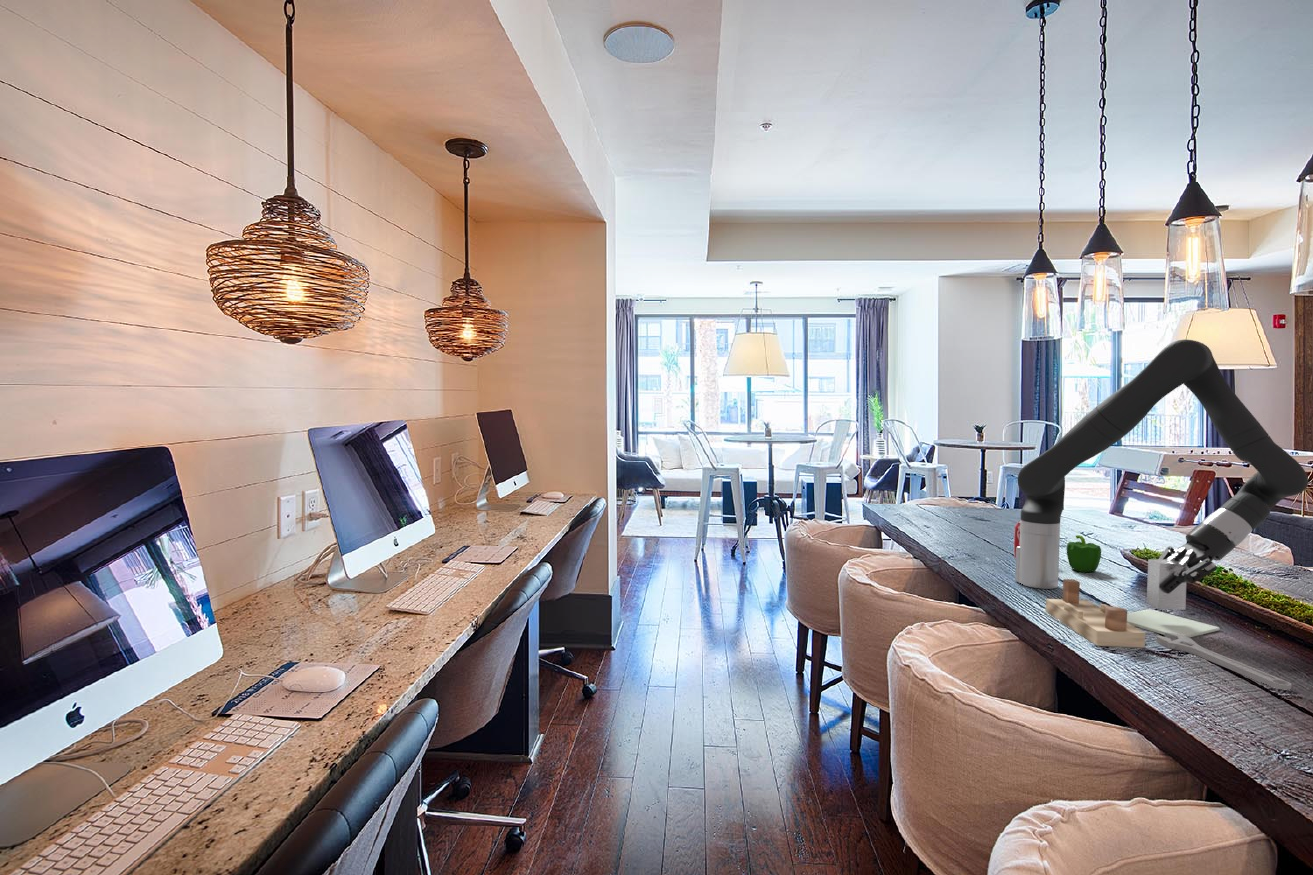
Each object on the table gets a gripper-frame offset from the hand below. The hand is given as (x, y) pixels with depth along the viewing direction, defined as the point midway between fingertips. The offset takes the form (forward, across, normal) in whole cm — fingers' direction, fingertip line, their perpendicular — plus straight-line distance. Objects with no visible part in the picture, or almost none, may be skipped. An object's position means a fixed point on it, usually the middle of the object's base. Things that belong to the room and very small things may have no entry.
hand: (1157, 587), depth 147 cm
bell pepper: (0, -48, +12) cm, 50 cm away
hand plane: (+17, +4, -5) cm, 18 cm away
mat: (+5, 0, +7) cm, 8 cm away
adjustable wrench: (+8, +21, +5) cm, 23 cm away
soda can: (+7, -59, +4) cm, 60 cm away
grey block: (+2, 0, +4) cm, 5 cm away
